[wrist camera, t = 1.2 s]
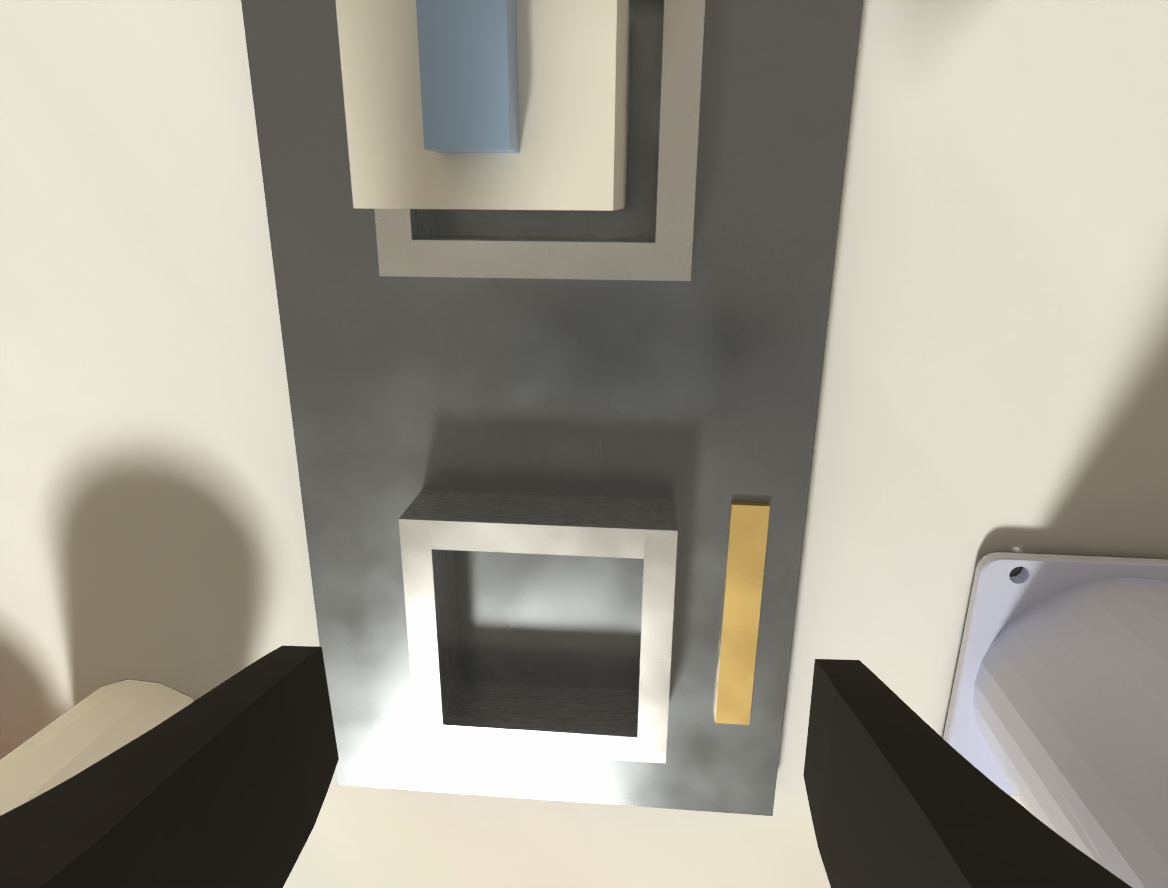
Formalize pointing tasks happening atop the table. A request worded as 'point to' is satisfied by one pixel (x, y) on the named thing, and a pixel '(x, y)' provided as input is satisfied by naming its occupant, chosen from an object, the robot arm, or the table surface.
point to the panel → (566, 421)
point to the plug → (486, 103)
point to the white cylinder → (85, 737)
